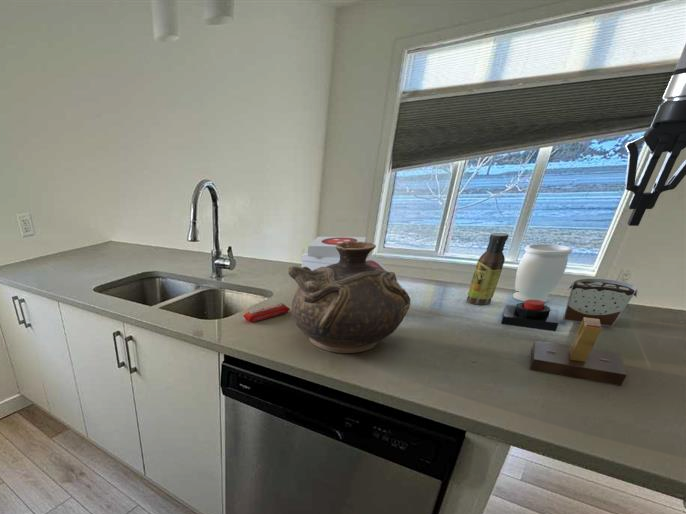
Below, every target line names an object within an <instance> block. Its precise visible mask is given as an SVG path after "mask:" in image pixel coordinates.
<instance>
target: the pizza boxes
mask: <svg viewBox="0 0 686 514" xmlns="http://www.w3.org/2000/svg"><path fill="white" fill-rule="evenodd" d="M366 238H367V237H366V236H317V237H316V238H315V239H314V240H313V241H312V242H311V243H310V244H308V247H307V252H305V253H302V257H301V268H302V267H308V268H310V269H311V270H312V271H313V270H315V269H317V268H320V267H326V266H329V265H332V264H336V263H338V262H339V260H340V254H339V252H338V250H337V249H336V247H335V246H336V245H337V244H339V243H344V242H366V240H367V239H366ZM366 264H368V265H371V266H373V267H378V268H380V269H383V270H385V271H387V272H390V271H389V270H388V268H386V267H385V265H384V264H383V263H382V262H381V261H380V260H379V259H378V257H377V256H376V255H375V254H373V255H371V256H370V253H369V254H368V256H367V258H366ZM397 283H398V284H399V286H400V287H401V288H402V289H404V290H405V291H406V289H405V288H404V287H403V285H402V284H401V283H400V282H399V281H398V280H397Z"/></svg>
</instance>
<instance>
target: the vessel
mask: <svg viewBox="0 0 686 514" xmlns="http://www.w3.org/2000/svg"><path fill="white" fill-rule="evenodd" d="M335 247H336V249H337V250H338V252H339V254H340V260H339V262H338V263H336V264H332V265H329V266H326V267H320V268H317V269H315V270H313V271H312V270H311V269H310V268H308V267H302V266H301V267H299V266H297V265H296V266H295V265H292V266H290V267H289V268H288V269H287V274H288V275H289V277H291V278H292V279H293V280H294V281H295V282H296V283H297V289H296V290H295V292H294V295H293V298H292V301H291V314H292V317H293V321H294V323H295V325H296V326H297V328H298V329H299V331H301V332H302V334H304V335H305V336H306V337H308V338H309V341H310V343H312V345H314V346H315V347H318V348H319V349H322V350H323V351H327V352H332V353H336V354H337V353H338V354H355V353H361V352H366V351H369V350H371V349H373V348H375V346H376V345H377V343H379V342H380V341H382V340H384V339H386V338H388V336H390V335H392V334H393V333H394V332H395V331H396V330H397V329H398V328H399V326H400V325H401V324H402V322H403V321H404V319H405V316H406V315H407V313H408V311H409V310H410V306H411V297H410V295H409V293H408V292H407V291H406V289H405V288H404V289H405V290H404V289H402V288H401V287H400V286H399V284H400V283H399V282H398V283H399V284H398V283H397V281H398V280H397V276H396V273H395V272H394V271H389V272H387V271H385V270H383V269H380V268H378V267H373V266H371V265H368V264H366V258H367V256H368V254H369V255H370V253H371V252H372V251H373V250H375V249H376V248H377V245H376V244H375V243H372V242H368V241H365V242H344V243H339V244H337V245H336V246H335Z"/></svg>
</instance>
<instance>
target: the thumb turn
mask: <svg viewBox="0 0 686 514" xmlns="http://www.w3.org/2000/svg"><path fill="white" fill-rule="evenodd" d="M602 328H603V327H602V325H601V324H600V320H599V319H594V318H585V317H584V318H583V320H582V322H580V325H579V327H578V328H577V331H576V333H575V335H574V338H573V340H572V342H571V344H570V346H571V347H570V349H569V353H570V360H576V361H582V362H586V360H587V358H588V356H589V354H590V352H591V350H592V349H593V347H594V345H595V343H596V341H597V340H598V337H599V335H600V333H601V331H602Z"/></svg>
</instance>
